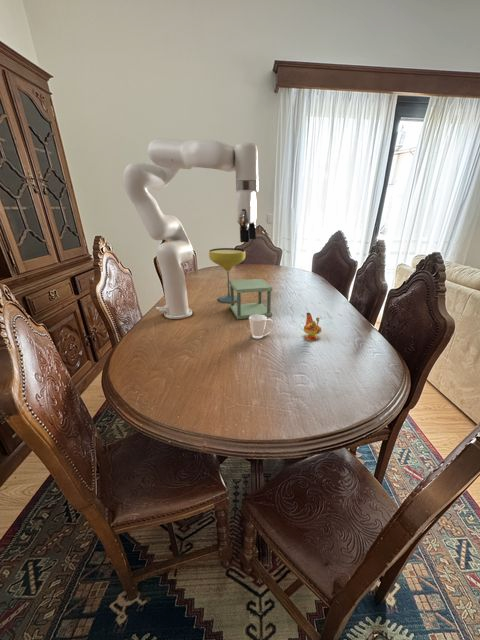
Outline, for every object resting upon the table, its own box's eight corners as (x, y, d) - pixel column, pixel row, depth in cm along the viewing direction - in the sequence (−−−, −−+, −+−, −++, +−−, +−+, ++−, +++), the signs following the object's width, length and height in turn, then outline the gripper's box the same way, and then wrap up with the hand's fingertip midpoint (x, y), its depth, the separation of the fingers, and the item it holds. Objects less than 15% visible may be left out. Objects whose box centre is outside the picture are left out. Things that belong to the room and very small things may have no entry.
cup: (247, 333, 115) (247, 314, 111) (271, 331, 116) (272, 313, 113) (250, 340, 109) (250, 321, 105) (275, 339, 110) (276, 319, 107)
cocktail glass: (252, 298, 156) (252, 250, 144) (232, 307, 142) (230, 255, 130) (226, 292, 164) (224, 246, 152) (204, 300, 150) (200, 251, 139)
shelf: (237, 319, 128) (236, 289, 122) (230, 307, 142) (229, 280, 135) (271, 316, 132) (272, 287, 126) (261, 305, 146) (261, 278, 140)
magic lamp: (314, 327, 122) (317, 302, 117) (324, 346, 106) (328, 318, 101) (298, 327, 121) (300, 302, 116) (306, 346, 105) (309, 318, 100)
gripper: (243, 188, 106) (245, 237, 114) (228, 186, 91) (231, 243, 99) (263, 188, 105) (263, 238, 112) (251, 186, 90) (252, 243, 97)
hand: (248, 240), depth 106 cm, fingers open, 9 cm apart
